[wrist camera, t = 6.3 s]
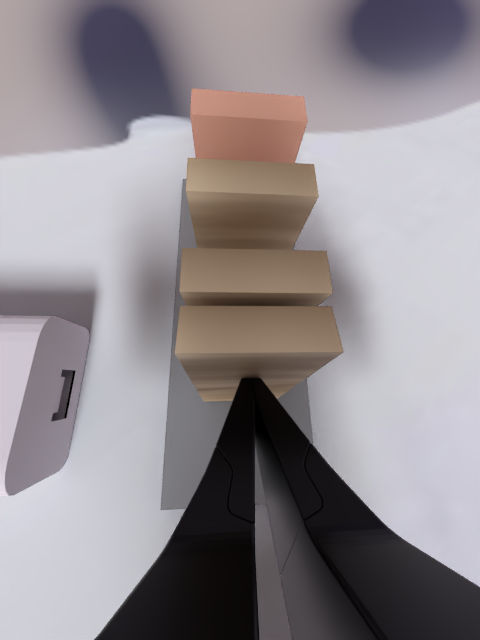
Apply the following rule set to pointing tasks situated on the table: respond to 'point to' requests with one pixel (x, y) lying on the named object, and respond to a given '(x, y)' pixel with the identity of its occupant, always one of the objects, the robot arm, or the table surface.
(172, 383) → the domino mat
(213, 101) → the domino
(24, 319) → the charger
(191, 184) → the domino
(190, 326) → the domino
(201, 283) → the domino
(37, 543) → the table surface
